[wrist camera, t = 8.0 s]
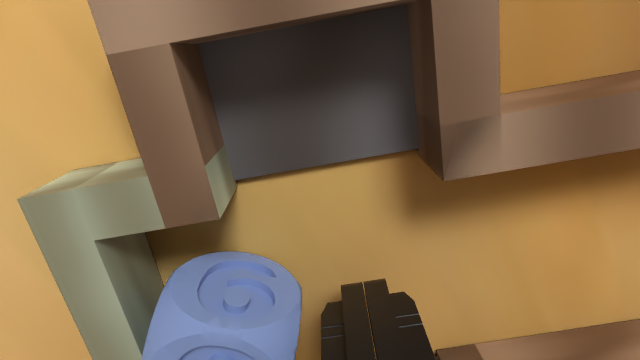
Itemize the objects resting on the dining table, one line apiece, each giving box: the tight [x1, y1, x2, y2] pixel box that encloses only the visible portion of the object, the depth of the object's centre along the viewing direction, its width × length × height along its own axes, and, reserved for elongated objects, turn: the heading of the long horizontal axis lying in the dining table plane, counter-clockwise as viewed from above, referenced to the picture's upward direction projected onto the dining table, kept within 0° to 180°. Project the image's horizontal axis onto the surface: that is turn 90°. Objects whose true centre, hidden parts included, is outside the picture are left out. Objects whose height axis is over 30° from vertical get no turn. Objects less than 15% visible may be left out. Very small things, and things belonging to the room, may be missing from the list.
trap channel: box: [17, 0, 640, 360], centre depth 13 cm, size 20×20×2 cm
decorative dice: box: [142, 251, 302, 360], centre depth 12 cm, size 4×4×4 cm
